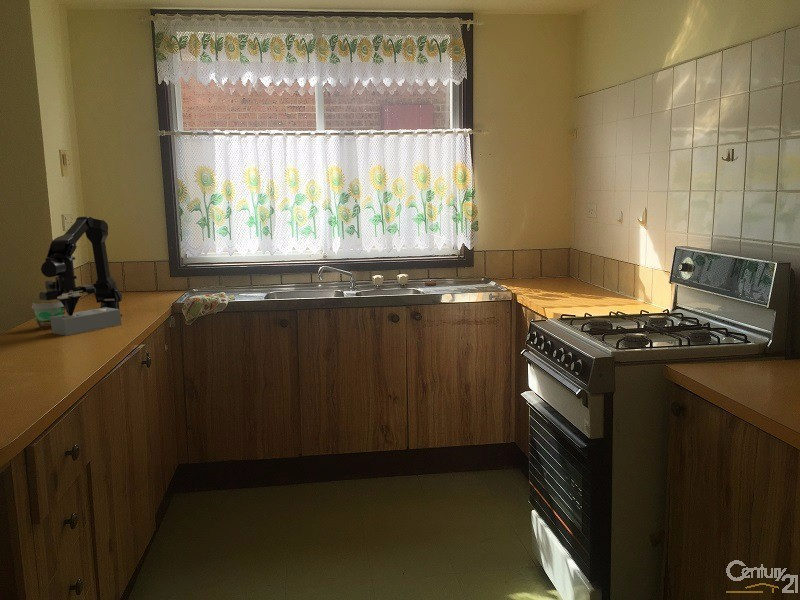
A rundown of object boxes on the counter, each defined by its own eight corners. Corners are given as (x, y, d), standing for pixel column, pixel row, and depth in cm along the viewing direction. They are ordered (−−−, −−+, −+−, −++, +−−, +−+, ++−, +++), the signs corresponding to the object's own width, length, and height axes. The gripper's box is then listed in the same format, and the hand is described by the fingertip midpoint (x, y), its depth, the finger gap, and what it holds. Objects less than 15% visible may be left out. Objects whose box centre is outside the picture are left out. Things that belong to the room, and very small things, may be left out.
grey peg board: (106, 322, 281) (105, 307, 280) (121, 324, 275) (119, 309, 274) (52, 332, 263) (50, 317, 262) (66, 335, 257) (64, 319, 256)
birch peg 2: (104, 324, 276) (102, 308, 275) (109, 325, 274) (108, 309, 273) (94, 326, 273) (92, 310, 272) (100, 327, 271) (98, 311, 270)
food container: (30, 331, 268) (27, 304, 267) (34, 328, 274) (31, 302, 272) (66, 328, 271) (63, 302, 270) (69, 325, 277) (66, 299, 276)
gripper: (78, 269, 273) (82, 309, 275) (29, 275, 258) (34, 318, 261) (94, 270, 266) (98, 312, 269) (44, 277, 251) (49, 320, 254)
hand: (70, 315), depth 263 cm, fingers closed, pressing on birch peg 1
